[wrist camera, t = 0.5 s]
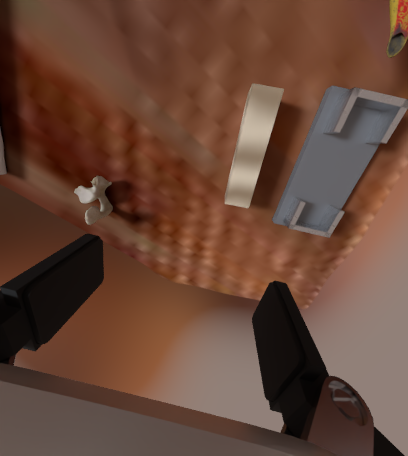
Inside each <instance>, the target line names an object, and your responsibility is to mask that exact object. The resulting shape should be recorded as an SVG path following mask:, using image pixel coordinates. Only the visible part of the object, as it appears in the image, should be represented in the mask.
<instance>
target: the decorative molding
mask: <svg viewBox="0 0 408 456" xmlns="http://www.w3.org/2000/svg"><path fill="white" fill-rule="evenodd" d="M0 174H7V171H6V166H5V160H4V146H3V139H2V135H1V128H0Z"/></svg>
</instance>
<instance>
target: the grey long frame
mask: <svg viewBox="0 0 408 456" xmlns="http://www.w3.org/2000/svg"><path fill="white" fill-rule="evenodd" d="M353 105H356V106H360V107H364V108H369V109H373V110H377V111H381V113H380V115H379V117H378V119H377V120H376V122H375V124H374V126H373V128H372V129H371V131H370V133H369V135H368V137H367V138H366V140H365V142H364V143H368V144H384V143H387V142H388V140H389V138H390V137H391V135H392V133H393V132H394V130H395V128H396V127H397V125H398V124H399V122H400V120H401V119H402V117H403V115H404V114H405V112H406V110H407V109H408V99H403V98H399V97H395V96H390V95H386V94H381V93H377V92H373V91H368V90H364V89H360V88H355V87H354V88H352V89H350V90H348V91H346V92H344V93H341V94H340V95H339V97H338V100H337V102H336V104H335V106H334V108H333V111H332V113H331V115H330V117H329V120H328V122H327V124H326V126H325V128H324V131H323V133H325V134H333V133H340V131H341V129H342V127H343V125H344V123H345V121H346V119H347V117H348V115H349V113H350V111H351V109H352V107H353ZM304 205H305V202H304V201H302V200H301V199H299V198H297V197H294V198H293V200H292V202H291V204H290V207H289V209H288V211H287V213H286V215H285V218H284V220H283V222H284V223H285V225H286V226H287V227H288V228H290V229H294V230H299V231H303V232H307V233H311V234H316V235H320V236H324V237H328V238H329V237H330V236H331V234H332V232H333V231H334V229H335V228H336V226H337V224H338V223H339V221H340V219H341V218H342V216H343V214H344V213H345V212H344V211H342V210H340V209H338V208H337V207H335V206H331V205H329V207H328V209H327V211H326V213H325V214H324V216H323V218H322V220H321V222H320V223H319V225H315V224H310V223H306V222H302V221H298V218H299V215H300V213H301V211H302V209H303V207H304Z"/></svg>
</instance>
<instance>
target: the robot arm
mask: <svg viewBox="0 0 408 456" xmlns="http://www.w3.org/2000/svg"><path fill="white" fill-rule="evenodd" d="M103 269H104V267H103V241H102V240H101V239H100V237H99V236H96V235H92V234H85V235H83V236H82V237H80V238H79V239H77V240H75V241H74V242H72V243H70V244H69V245H67V246H66V247H64V248H63V249H61V250H59V251H57V252H56V253H54V254H53V255H51V256H49V257H48V258H46V259H44V260H43V261H41V262H40V263H38V264H36V265H35V266H33V267H31V268H30V269H28V270H27V271H25V272H23V273H22V274H20V275H18V276H17V277H15V278H14V279H12V280H10V281H9V282H7V283H5V284H4V285H2V286H1V287H0V289H1V290H0V456H404V455H403V454H402V453H401V452H400V451H399V450H398V449H397V448H396V447H395V446H394V445H393V444H392V443H391V442H390V441H389V440H388V439H387V438H386V437H385V436H384V435H383V434H381V432H380V431H378V430H377V429H376V428H375V427H374V423H373V417H372V415H371V412H370V410H369V408H368V406H367V405H366V403H365V401H364V400H363V399H362V397H361V396H360V395H359V394H358V392H357V391H356V390H355V389H354V388H353V387H352V386H350V385H349V384H348V383H347V382H345V381H344V380H342V379H340V378H338V377H335V376H329V374H328V372H327V370H326V367H325V364H324V362H323V360H322V358H321V356H320V354H319V352H318V350H317V347H316V345H315V343H314V341H313V339H312V337H311V335H310V333H309V330H308V328H307V326H306V324H305V322H304V320H303V318H302V316H301V314H300V311H299V309H298V307H297V305H296V303H295V301H294V299H293V297H292V294H291V292H290V290H289V288H288V286H287V284H286V283H283V282H279V281H273V283H272V282H271V283H269V285H268V287H267V289H266V291H265V293H264V295H263V297H262V299H261V301H260V302H259V305H258V306H257V308H256V311H255V312H254V314H253V317H252V323H253V329H254V335H255V341H256V347H257V353H258V359H259V365H260V371H261V376H262V383H263V388H264V394H265V397H266V399H267V400H269V405H270V410H272V411H276V412H280V413H282V417H283V421H284V425H283V427H282V430H281V433H279V432H275V431H272V430H268V429H265V428H261V427H257V426H254V425H250V424H247V423H243V422H239V421H235V420H231V419H227V418H223V417H219V416H215V415H212V414H207V413H204V412H200V411H196V410H192V409H188V408H184V407H180V406H176V405H172V404H168V403H164V402H160V401H156V400H152V399H148V398H144V397H140V396H136V395H132V394H128V393H124V392H120V391H116V390H112V389H108V388H104V387H100V386H96V385H91V384H87V383H84V382H79V381H75V380H71V379H67V378H63V377H59V376H55V375H51V374H47V373H42V372H38V371H34V370H30V369H26V368H21V367H17V366H14V362H15V357H16V353H17V352H18V351H19V350H20V349H22V348H24V349H28V350H32V351H36V350H37V349H38V348H39V347H40V346H41V345H42V344H45V343H47V342H48V341H49V340H50V339H51V338H52V337H53V336H54V335H55V334H56V333H57V331H59V329H60V328H61V327H62V326H63V325H64V324H65V323H66V322H67V321H68V319H69V318H70V317H71V316H72V315H73V314H74V313H75V312H76V311H77V310H78V309H79V307H80V306H81V305H82V304H83V303H84V302H85V301H86V300H87V299H88V297H90V295H91V294H92V293H93V292H94V291H95V290H96V289H97V288H98V287H99V285H100V284H101V283H102V281H103V279H104V270H103Z"/></svg>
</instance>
